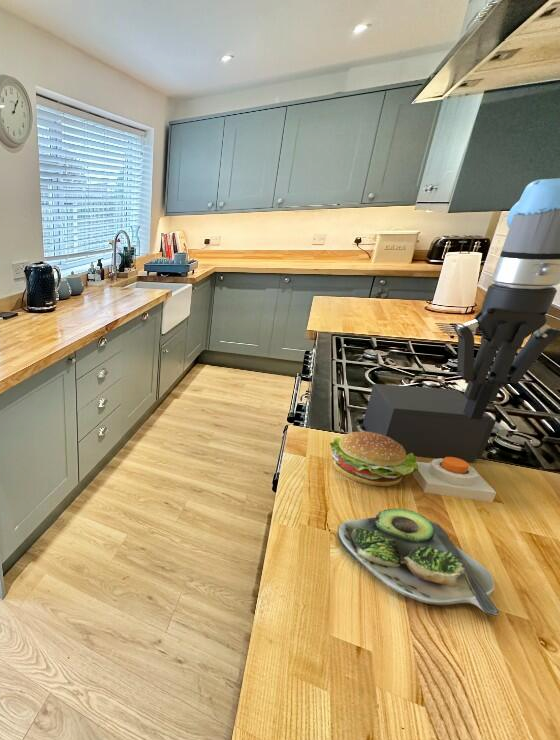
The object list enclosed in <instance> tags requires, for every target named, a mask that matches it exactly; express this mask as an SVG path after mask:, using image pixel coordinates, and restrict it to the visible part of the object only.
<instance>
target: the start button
mask: <svg viewBox="0 0 560 740" xmlns="http://www.w3.org/2000/svg"><path fill="white" fill-rule="evenodd" d="M469 466H470V463H467V462H466V461H464V460H462V459H459V458H455V457H445V458H444V459H443V462H442V464H441V467H442V468H443V469H445V470H447V471H449V472H452V473H456V474H466V473H467V470H468V468H469Z"/></svg>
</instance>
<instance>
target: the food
mask: <svg viewBox="0 0 560 740" xmlns="http://www.w3.org/2000/svg"><path fill="white" fill-rule="evenodd" d="M329 445H330V448H329V451H330V453H332V454H331V455H332V464H333V467H334V468H335V469H336V471H338V472H339V473H340V474H342V475H343V476H345V477H347V478H349V479H351V480H353V481H355V482H358V483H361V484H365V485H369V486H375V487H377V486H378V487H391V486H396V485H398V484H400V483H401V481H402V480H403V476H406V475H408V474H411V473H413V472H416V471H418V466H417V462H418V461H417V457H416V456H414V455H413V453H410V454H408V455H406V451H405V449H404V448H403V446H402V445H400V444H399V443H397V442H396V441H395V440H393V439H391V438H389V437H386V436H384V435H381V434H377V433H372V432H368V431H364V430H362V431H351V432H349V433H346V434H344V435H342V436H341V438H340V437H334V438H333V441H332V442H329Z"/></svg>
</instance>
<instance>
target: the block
mask: <svg viewBox="0 0 560 740" xmlns="http://www.w3.org/2000/svg"><path fill="white" fill-rule="evenodd" d="M442 462H443V459H442V458H439V459H433V458H432V460H431V461H430V462H423V461H417V466H418V471H416V472H413V473H410V474H411V476H412V477H413V479H414V480H415V482H416V483H417V484H418V485H419V487H420V488H421V490H422V491H423V492H424V493H426V494H433V495H440V496H447V497H454V498H461V499H467V500H475V501H481V502H487V503H488V502H489V503H493V502H494V499H495V497H496V494H497V491H496V490H495V489H494V488H493V487H492V486H491V485H490V484H489V483H488V482H487V480H485V479H484V478H483V477H482V476H481V475H480V474H479V472H478V471H477V470H476V469H475V468H474V467H472V466H470V465H469V468H468V470H467V473H466V474H456V473H452V472H449V471H447V470H445V469H443V468H442V467H441V464H442Z"/></svg>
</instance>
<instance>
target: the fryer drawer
mask: <svg viewBox="0 0 560 740" xmlns="http://www.w3.org/2000/svg"><path fill="white" fill-rule="evenodd" d="M493 433H494V434H497V435H498V436H500V437H505V436H507V435H508V434H509V431H508V430H507V429H506V428H505V427H504V426H503V425H501V424H500V423H499V422H498V421H497V420H496V419H494V417H492V418H491V420H490V423H489V425H488V428H487V430H486V433H485V436H484V438H483V441H482V443H481V446H480V448H479V451H478V453H477V456H476V458H475V459H479V460H480V459H482V457H483V455H484V452H485V450H486V447H487V445H488V442H489V439H490V437H491V435H492V434H493Z"/></svg>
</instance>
